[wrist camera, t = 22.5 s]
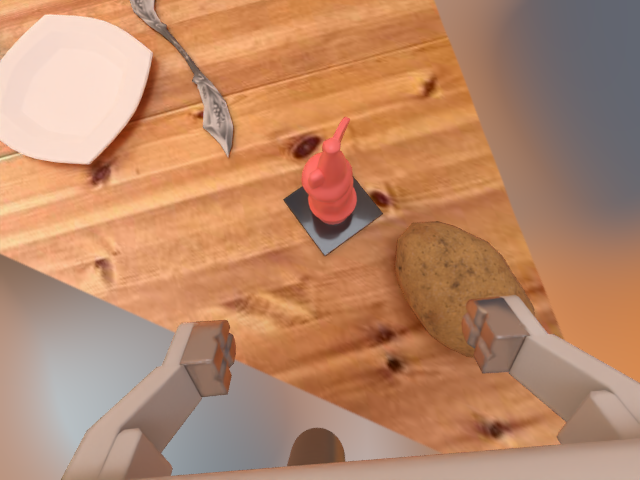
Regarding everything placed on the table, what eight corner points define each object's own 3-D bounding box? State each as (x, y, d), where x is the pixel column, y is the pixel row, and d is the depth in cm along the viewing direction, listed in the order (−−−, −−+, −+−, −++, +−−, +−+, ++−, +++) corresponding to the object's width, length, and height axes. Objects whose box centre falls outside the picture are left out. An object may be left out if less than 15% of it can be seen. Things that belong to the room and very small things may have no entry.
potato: (429, 210, 35) (457, 184, 27) (522, 310, 33) (582, 313, 25) (362, 265, 34) (371, 254, 26) (452, 372, 32) (492, 396, 24)
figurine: (319, 178, 36) (310, 94, 21) (361, 194, 35) (382, 118, 21) (302, 218, 35) (280, 160, 20) (345, 235, 34) (354, 187, 20)
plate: (-26, 135, 39) (-45, 126, 37) (54, 12, 42) (40, -2, 40) (105, 189, 37) (92, 183, 35) (179, 55, 40) (171, 43, 38)
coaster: (324, 256, 35) (324, 255, 34) (283, 200, 36) (283, 199, 36) (382, 214, 35) (383, 213, 35) (339, 161, 37) (339, 159, 36)
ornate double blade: (225, 160, 37) (260, 138, 37) (223, 158, 36) (259, 135, 37) (103, -18, 43) (134, -36, 43) (99, -22, 42) (131, -41, 42)
